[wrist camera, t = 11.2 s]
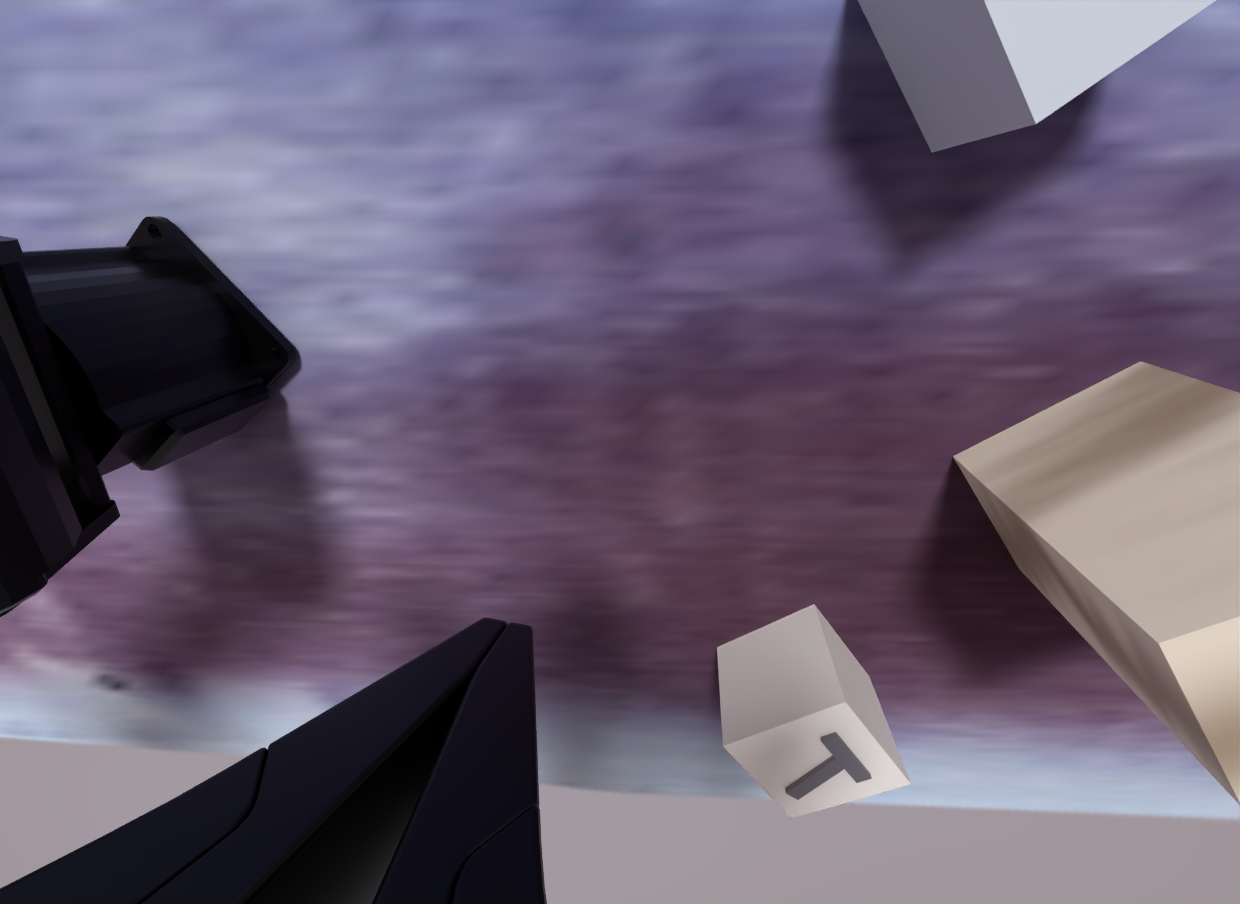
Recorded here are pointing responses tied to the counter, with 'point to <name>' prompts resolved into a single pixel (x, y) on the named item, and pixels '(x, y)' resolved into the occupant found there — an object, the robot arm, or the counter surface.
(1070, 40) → the white letter cube
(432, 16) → the counter surface
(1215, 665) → the birch block
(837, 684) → the white letter block
